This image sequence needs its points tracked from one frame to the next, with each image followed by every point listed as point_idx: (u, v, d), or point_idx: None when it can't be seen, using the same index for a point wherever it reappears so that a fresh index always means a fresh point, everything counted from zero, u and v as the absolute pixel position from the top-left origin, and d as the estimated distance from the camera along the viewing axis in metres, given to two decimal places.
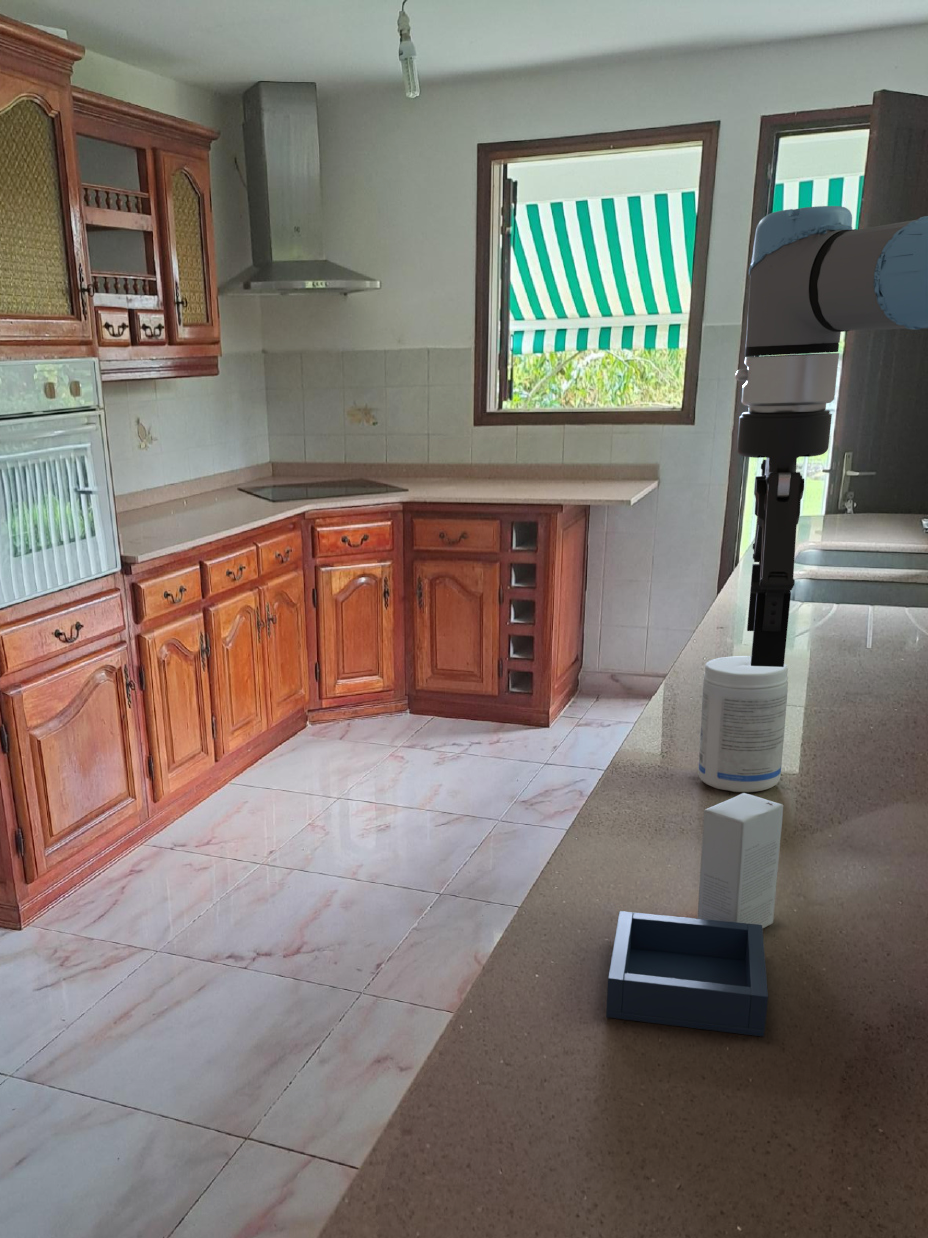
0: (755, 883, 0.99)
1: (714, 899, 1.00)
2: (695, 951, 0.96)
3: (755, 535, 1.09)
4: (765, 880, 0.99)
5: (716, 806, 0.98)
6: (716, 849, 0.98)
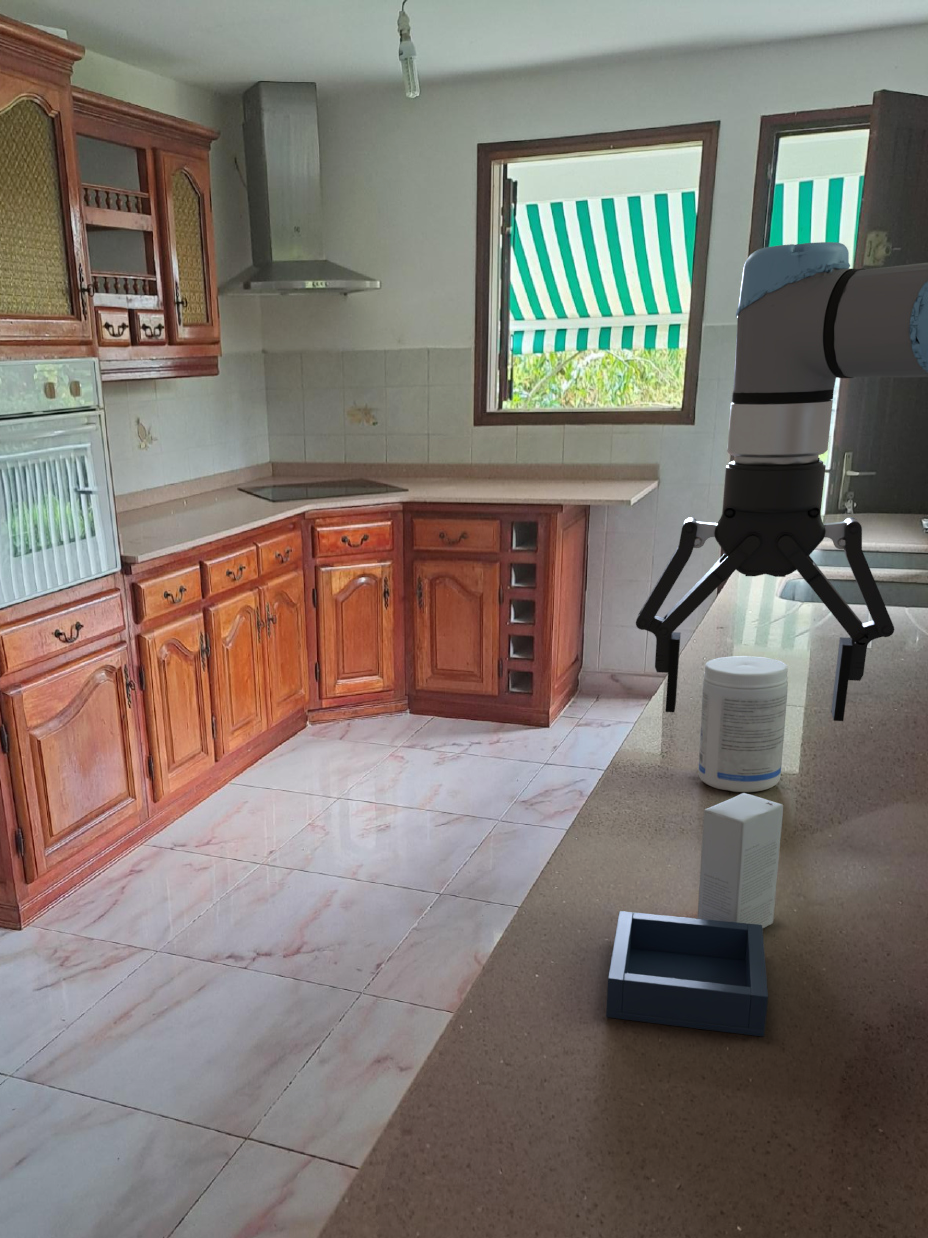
0: (755, 883, 0.99)
1: (714, 899, 1.00)
2: (695, 951, 0.96)
3: None
4: (765, 880, 0.99)
5: (716, 806, 0.98)
6: (716, 849, 0.98)
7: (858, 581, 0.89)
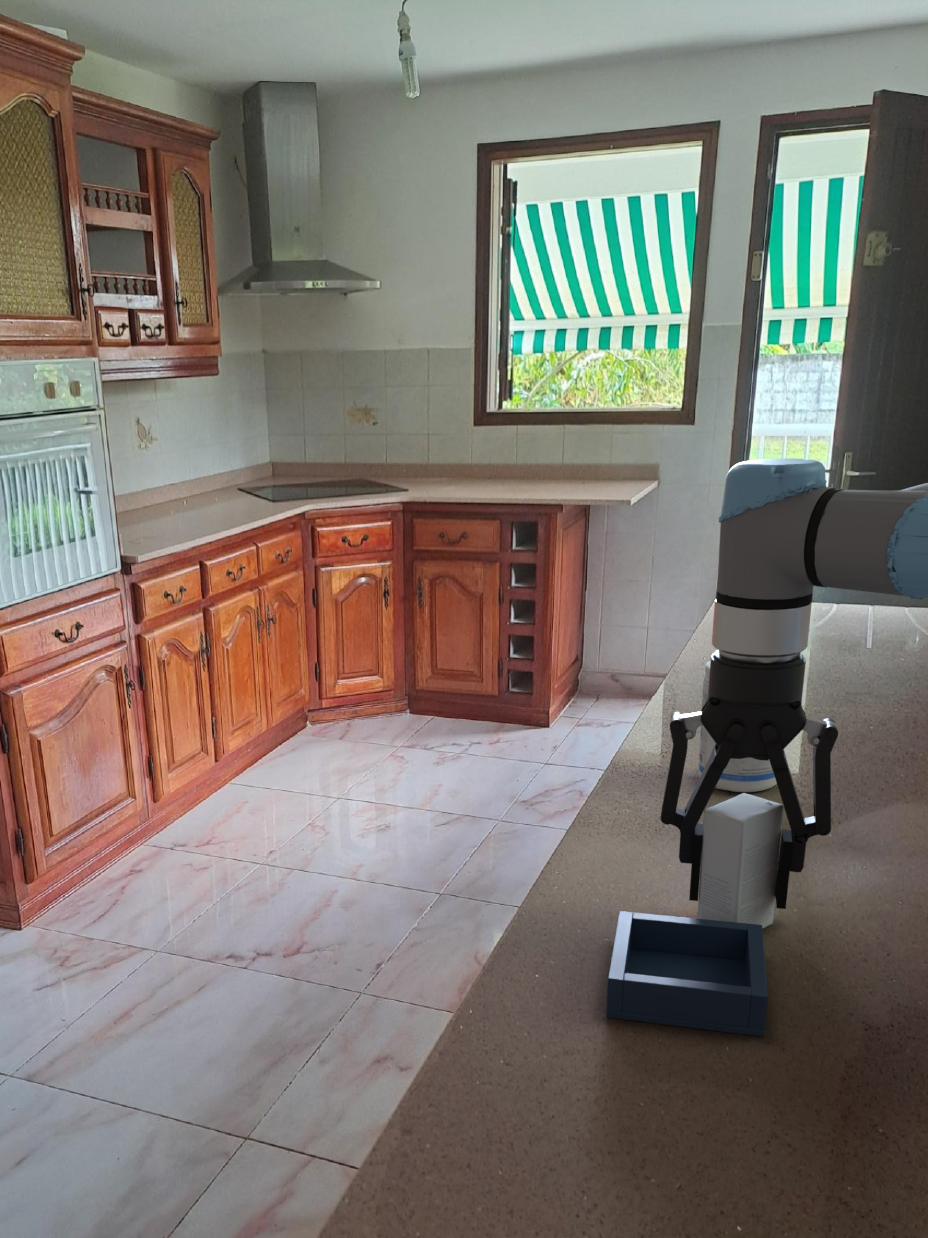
0: (755, 883, 0.99)
1: (714, 899, 1.00)
2: (695, 951, 0.96)
3: None
4: (765, 880, 0.99)
5: (716, 806, 0.98)
6: (716, 849, 0.98)
7: (816, 779, 0.94)
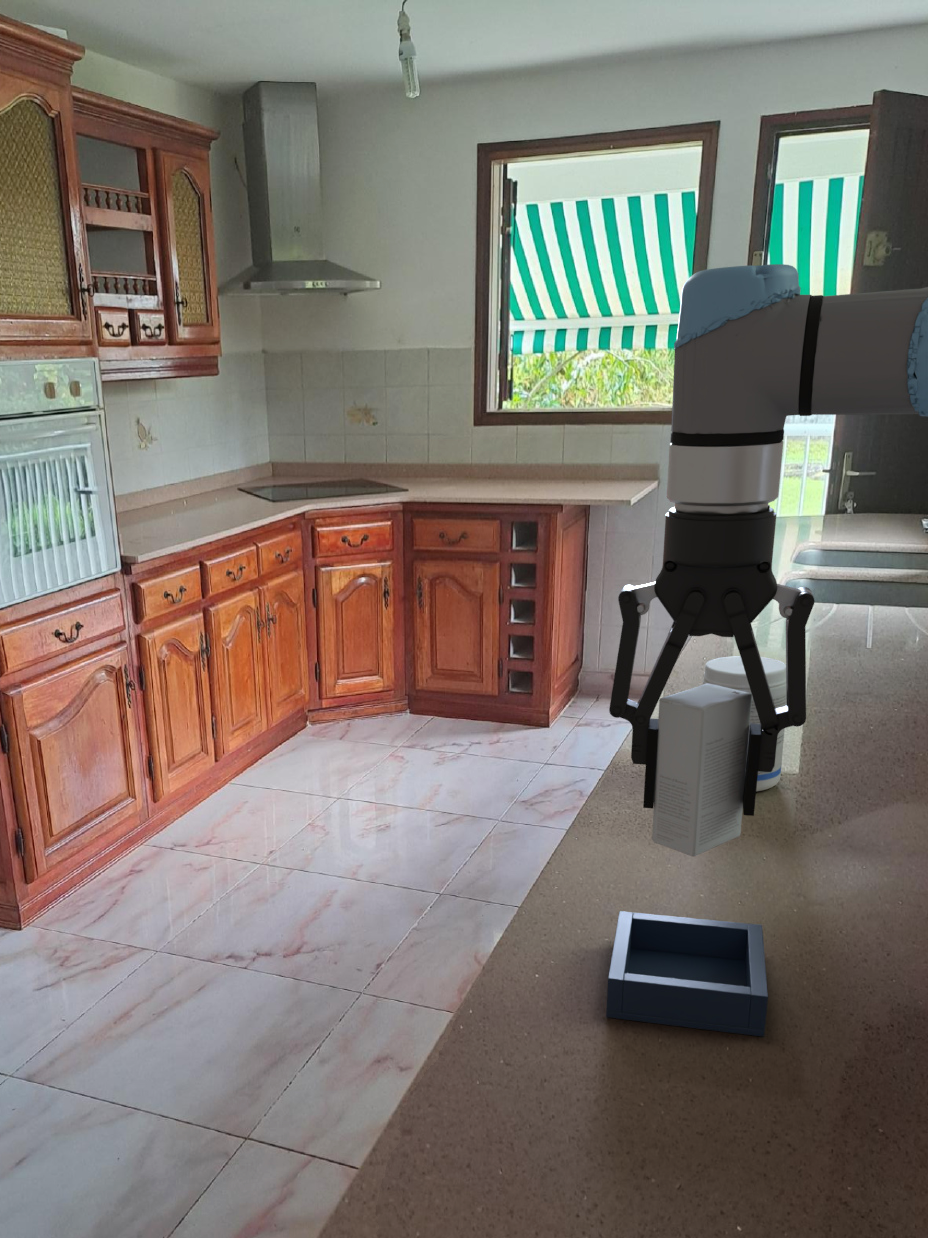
0: (718, 785, 0.85)
1: (671, 805, 0.86)
2: (695, 951, 0.96)
3: None
4: (730, 783, 0.85)
5: (674, 695, 0.84)
6: (673, 745, 0.84)
7: (789, 658, 0.80)
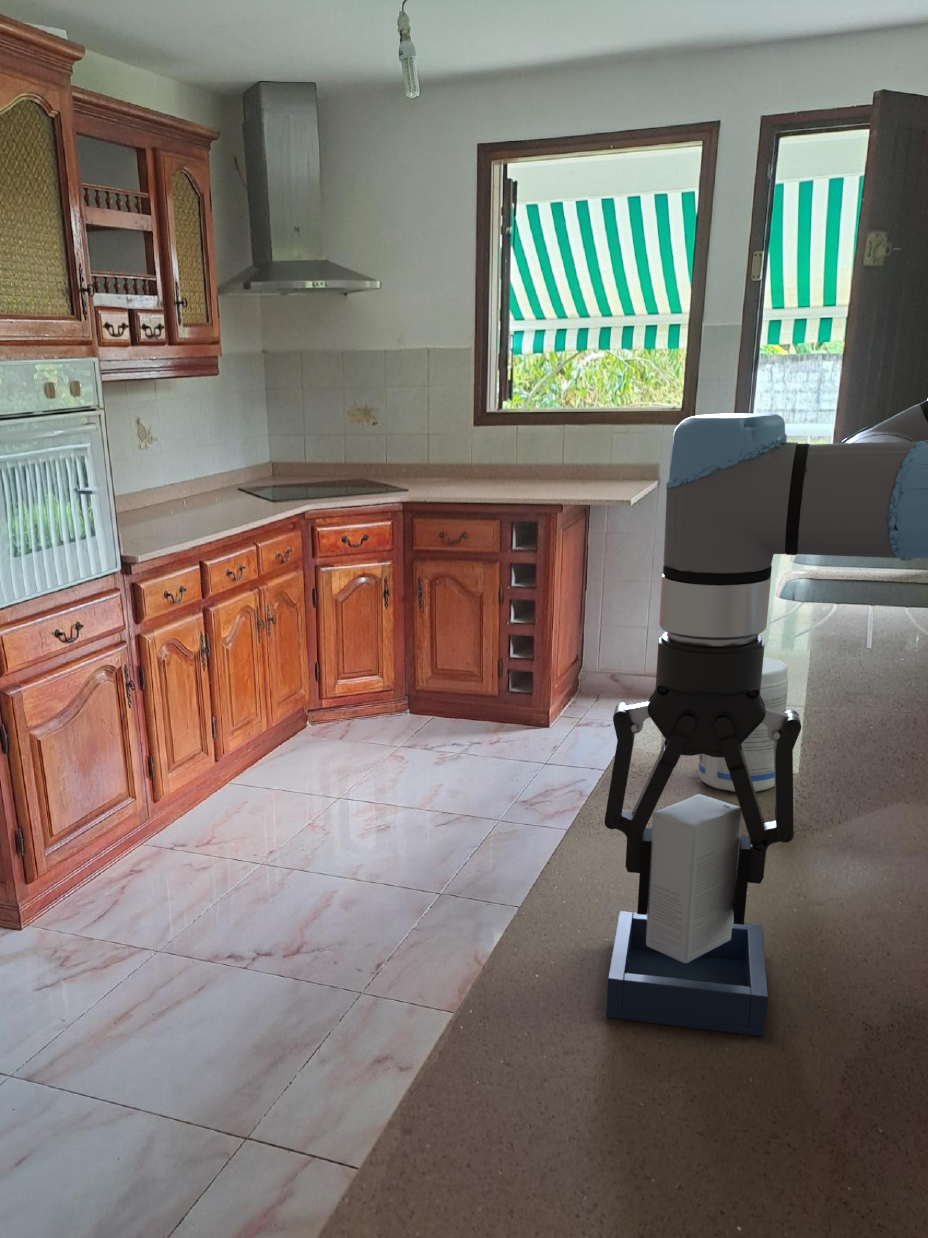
0: (709, 896, 0.88)
1: (664, 913, 0.89)
2: None
3: None
4: (721, 892, 0.89)
5: (666, 809, 0.88)
6: (666, 857, 0.87)
7: (777, 779, 0.83)
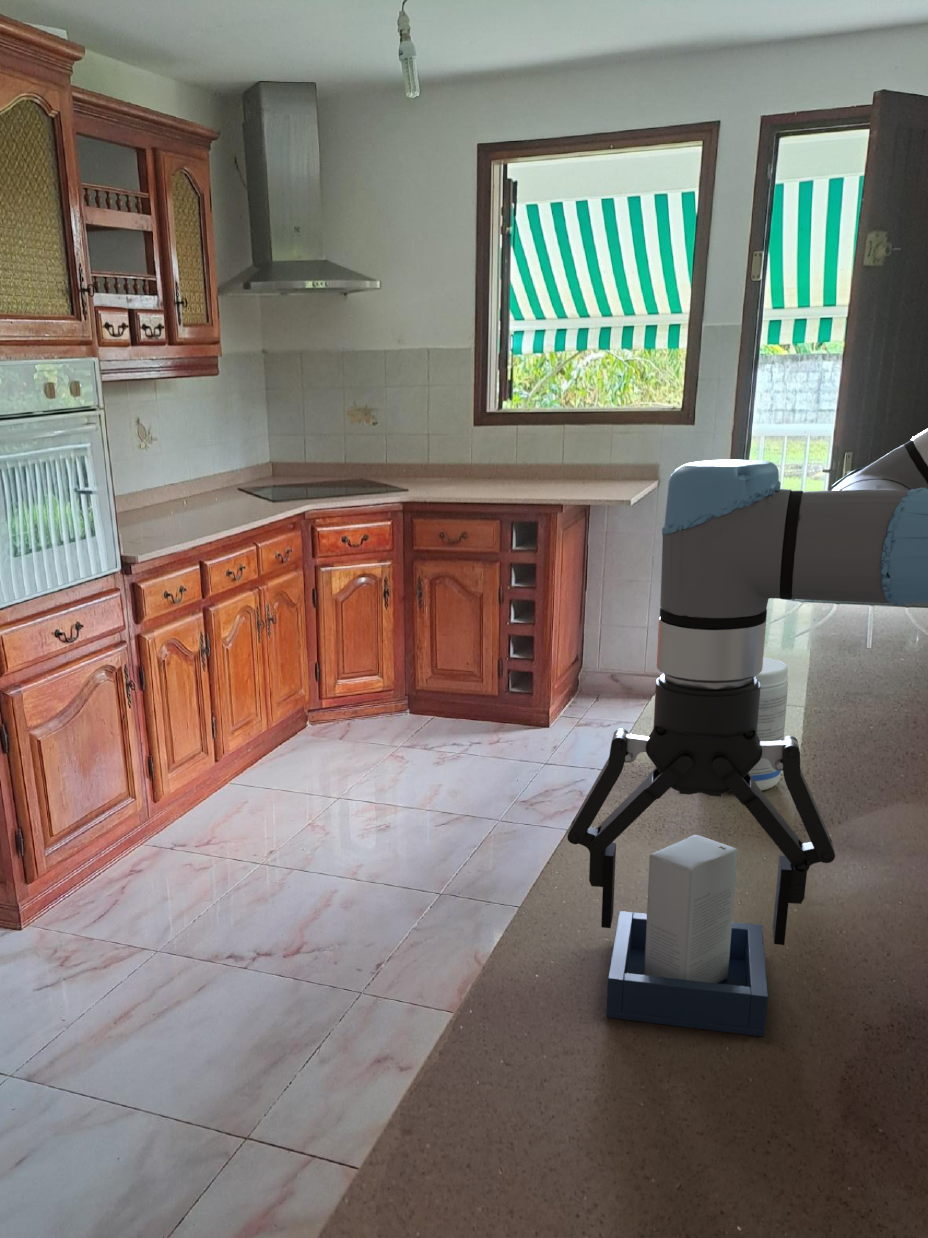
0: (706, 936, 0.89)
1: (661, 953, 0.90)
2: None
3: None
4: (718, 932, 0.90)
5: (663, 850, 0.89)
6: (663, 899, 0.88)
7: (797, 805, 0.84)
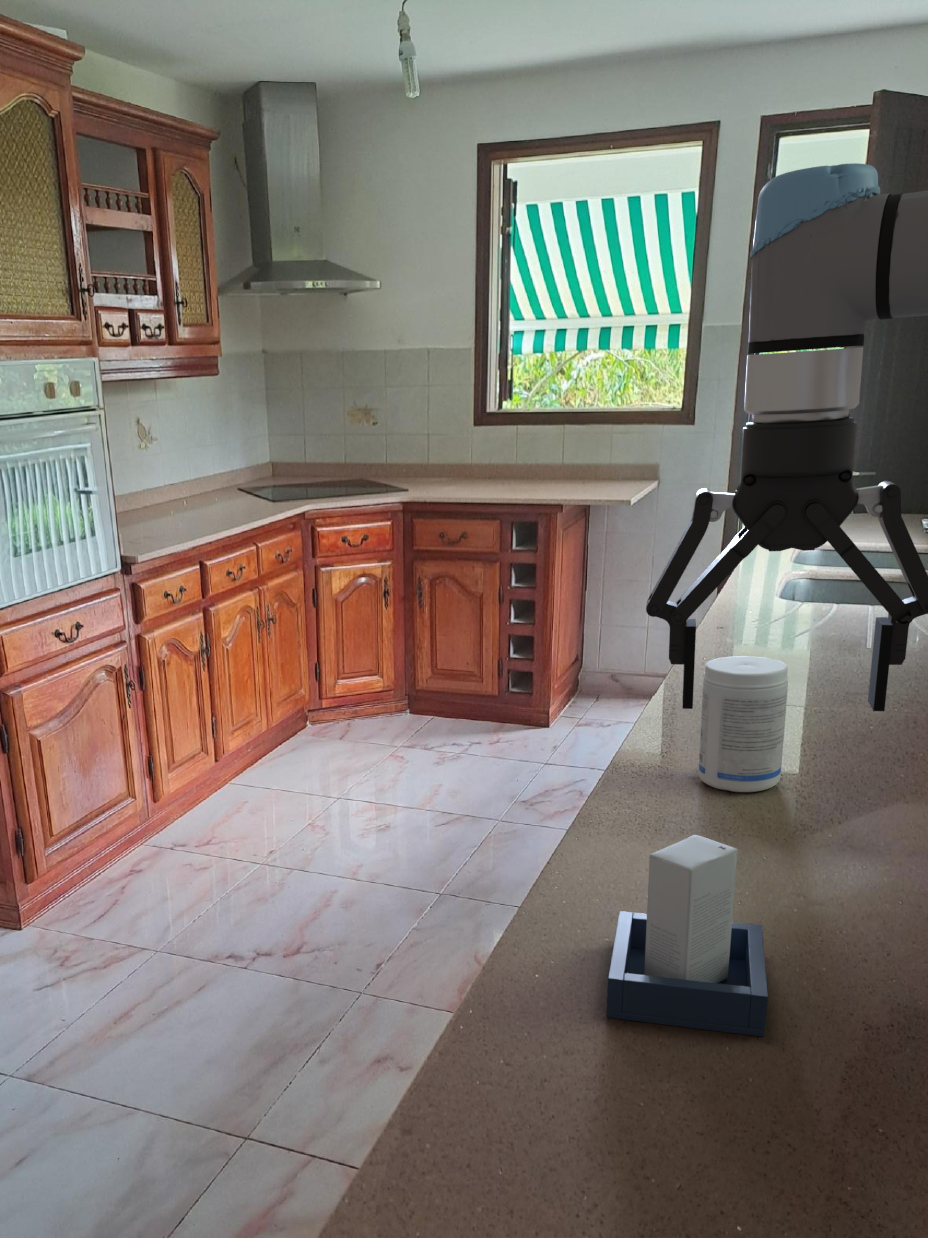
0: (706, 936, 0.89)
1: (661, 953, 0.90)
2: None
3: None
4: (718, 932, 0.90)
5: (663, 850, 0.89)
6: (663, 899, 0.88)
7: (898, 552, 0.79)
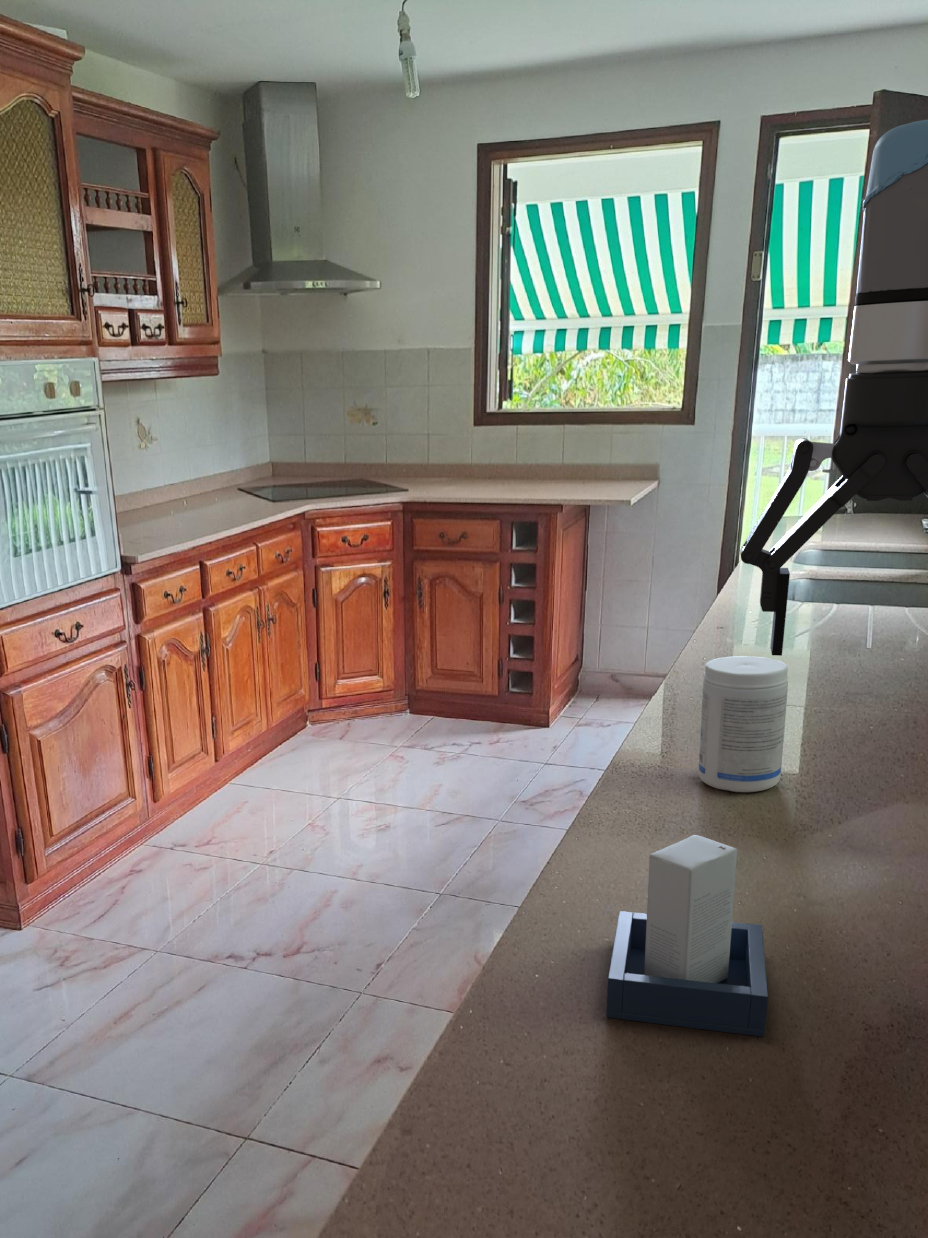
0: (706, 936, 0.89)
1: (661, 953, 0.90)
2: None
3: None
4: (718, 932, 0.90)
5: (663, 850, 0.89)
6: (663, 899, 0.88)
7: None
